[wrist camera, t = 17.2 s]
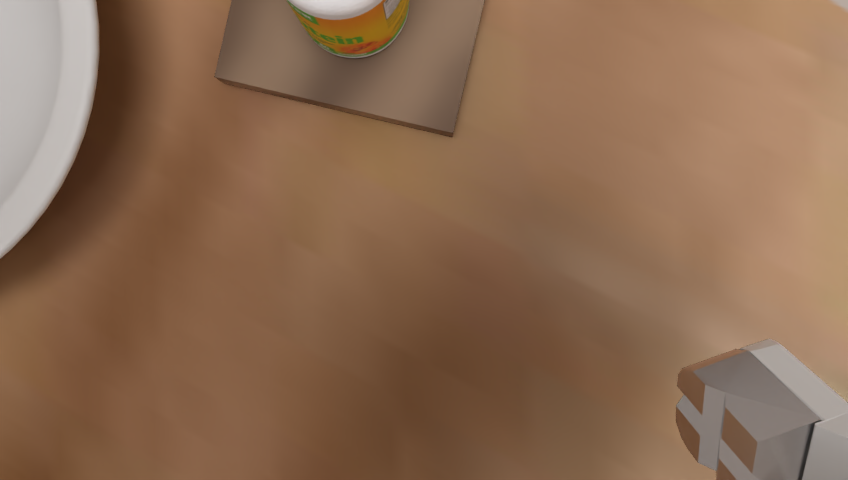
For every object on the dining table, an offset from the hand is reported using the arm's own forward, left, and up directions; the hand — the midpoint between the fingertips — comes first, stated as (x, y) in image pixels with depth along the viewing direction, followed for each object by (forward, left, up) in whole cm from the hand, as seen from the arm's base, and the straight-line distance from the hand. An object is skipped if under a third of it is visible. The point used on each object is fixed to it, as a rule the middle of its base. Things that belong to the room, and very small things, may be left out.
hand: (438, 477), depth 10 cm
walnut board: (-7, +13, -24) cm, 28 cm away
